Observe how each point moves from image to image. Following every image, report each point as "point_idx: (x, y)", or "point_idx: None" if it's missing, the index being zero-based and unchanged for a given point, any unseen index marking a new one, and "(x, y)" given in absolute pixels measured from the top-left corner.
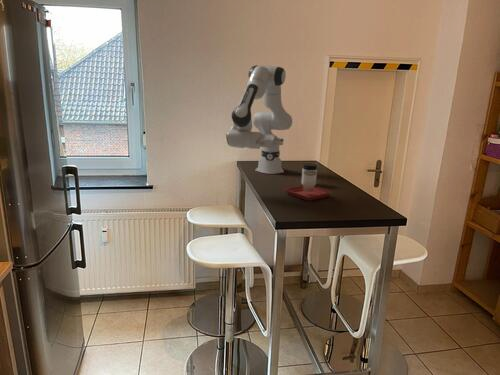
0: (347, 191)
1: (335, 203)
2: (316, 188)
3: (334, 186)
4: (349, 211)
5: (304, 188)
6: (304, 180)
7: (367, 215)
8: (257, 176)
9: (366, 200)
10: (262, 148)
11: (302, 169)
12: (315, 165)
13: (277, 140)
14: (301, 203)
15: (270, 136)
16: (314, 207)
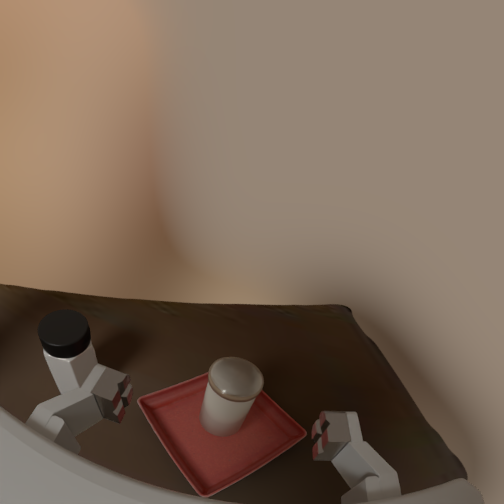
0: (172, 322)
1: (291, 376)
2: (179, 387)
3: (120, 330)
4: (343, 362)
5: (235, 430)
6: (239, 415)
7: (353, 340)
8: None
9: (248, 315)
10: None
11: (47, 359)
12: (82, 317)
13: (69, 427)
14: None
15: (23, 491)
16: None
